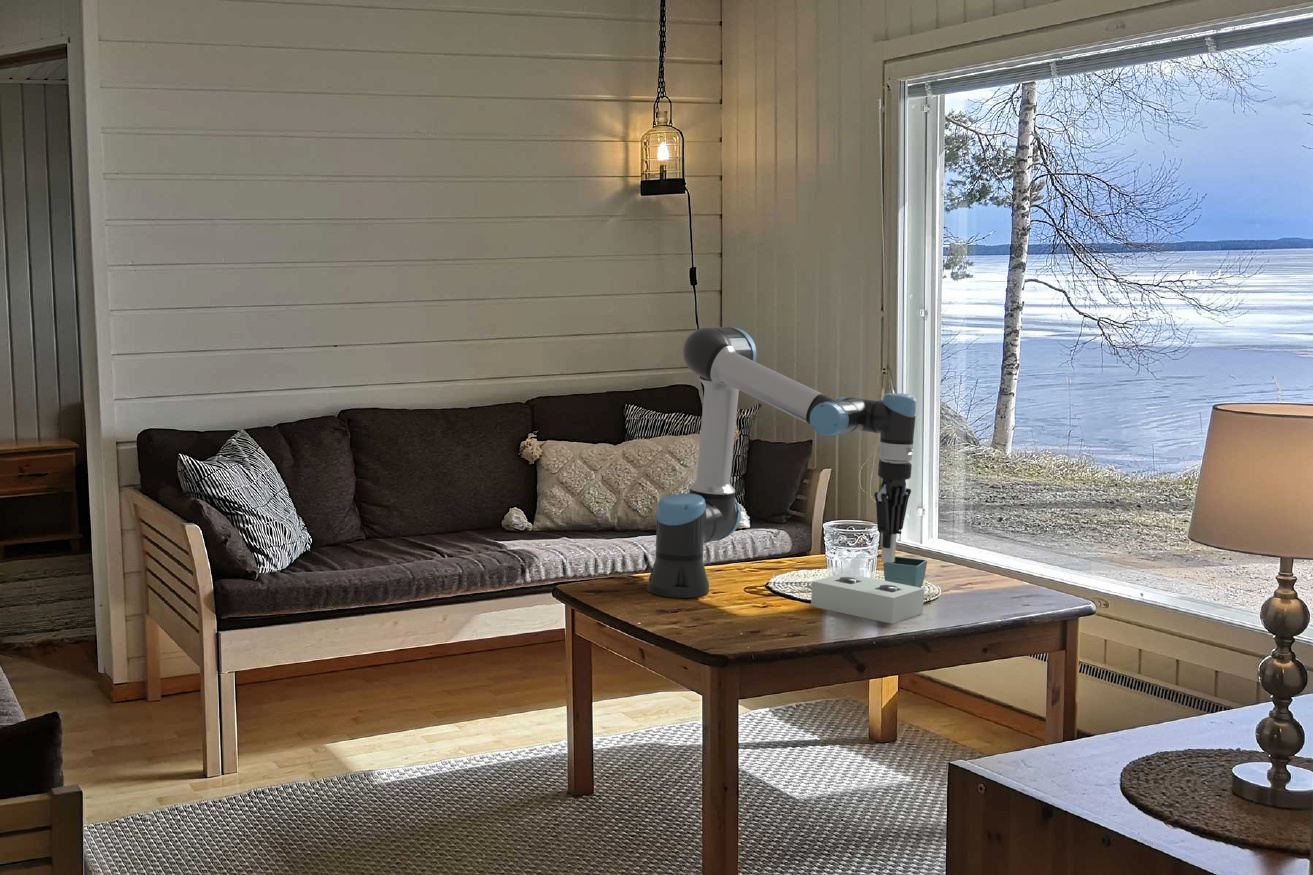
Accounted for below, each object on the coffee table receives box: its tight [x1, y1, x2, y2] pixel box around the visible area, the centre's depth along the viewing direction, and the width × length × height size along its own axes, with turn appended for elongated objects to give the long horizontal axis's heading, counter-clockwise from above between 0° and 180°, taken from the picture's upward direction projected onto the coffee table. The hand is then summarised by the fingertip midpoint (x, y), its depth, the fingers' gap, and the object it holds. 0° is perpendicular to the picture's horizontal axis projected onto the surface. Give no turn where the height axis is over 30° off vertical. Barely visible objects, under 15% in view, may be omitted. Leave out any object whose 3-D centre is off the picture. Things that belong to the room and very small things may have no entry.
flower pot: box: [882, 555, 928, 588], centre depth 322 cm, size 9×9×9 cm
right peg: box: [880, 585, 897, 592], centre depth 303 cm, size 4×4×6 cm
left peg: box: [839, 577, 856, 584], centre depth 310 cm, size 4×4×6 cm
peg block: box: [810, 572, 925, 625], centre depth 307 cm, size 22×14×6 cm, turn 50°
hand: (887, 561), depth 302 cm, fingers closed
